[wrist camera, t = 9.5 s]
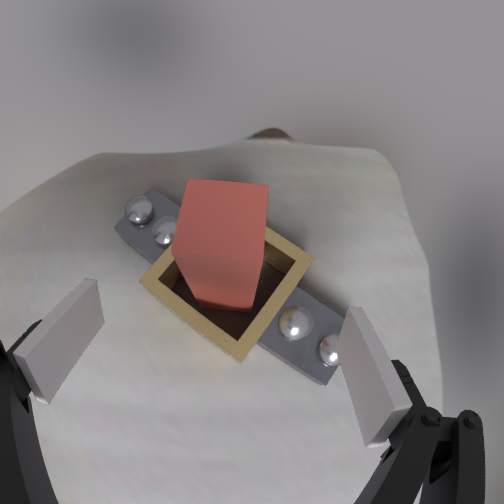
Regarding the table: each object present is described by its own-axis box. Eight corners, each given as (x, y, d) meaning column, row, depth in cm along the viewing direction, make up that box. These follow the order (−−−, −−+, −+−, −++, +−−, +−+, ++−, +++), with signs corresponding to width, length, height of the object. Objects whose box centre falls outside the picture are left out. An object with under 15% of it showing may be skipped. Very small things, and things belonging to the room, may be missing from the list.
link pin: (200, 307, 22) (170, 252, 12) (207, 260, 24) (188, 178, 14) (250, 312, 22) (263, 261, 12) (254, 265, 24) (268, 185, 14)
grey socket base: (106, 252, 23) (89, 235, 20) (170, 184, 27) (163, 161, 23) (306, 406, 19) (318, 412, 16) (363, 314, 22) (381, 304, 19)
